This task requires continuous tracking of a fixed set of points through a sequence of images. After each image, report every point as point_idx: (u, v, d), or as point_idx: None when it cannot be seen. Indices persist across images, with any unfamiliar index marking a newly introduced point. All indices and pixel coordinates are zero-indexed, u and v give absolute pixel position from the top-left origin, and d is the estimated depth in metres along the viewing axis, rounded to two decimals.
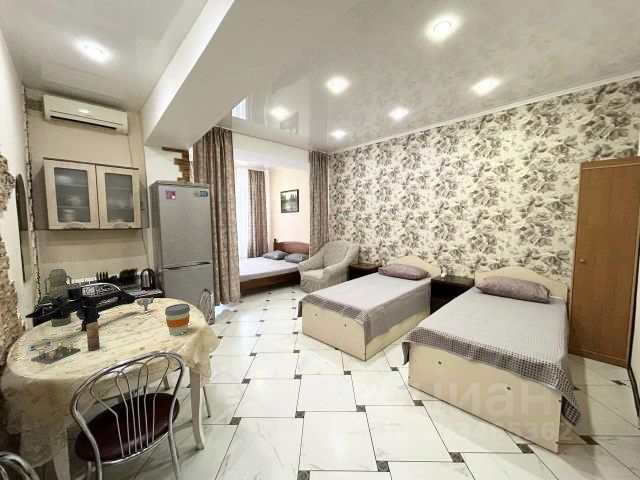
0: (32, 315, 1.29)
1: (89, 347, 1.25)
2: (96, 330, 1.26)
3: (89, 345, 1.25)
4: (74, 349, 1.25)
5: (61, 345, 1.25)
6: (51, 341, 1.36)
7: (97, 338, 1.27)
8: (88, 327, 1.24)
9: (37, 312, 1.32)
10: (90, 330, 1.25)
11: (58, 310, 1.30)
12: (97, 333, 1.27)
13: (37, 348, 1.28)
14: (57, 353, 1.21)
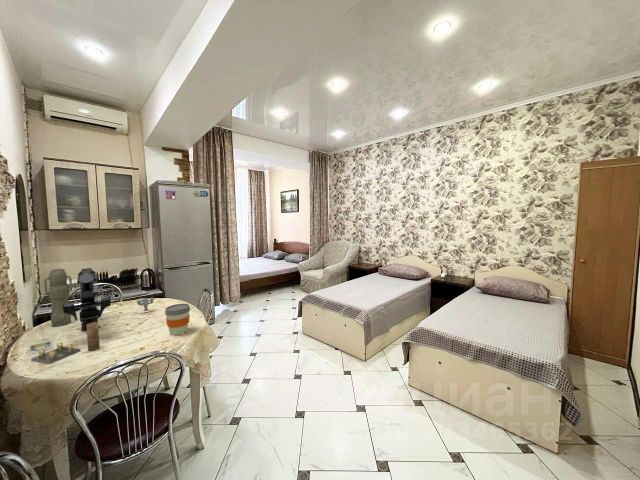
0: None
1: (89, 347, 1.25)
2: (96, 330, 1.26)
3: (89, 345, 1.25)
4: (74, 349, 1.25)
5: (61, 345, 1.25)
6: (51, 341, 1.36)
7: (97, 338, 1.27)
8: (88, 327, 1.24)
9: None
10: (90, 330, 1.25)
11: (106, 303, 1.38)
12: (97, 333, 1.27)
13: (37, 348, 1.28)
14: (57, 353, 1.21)
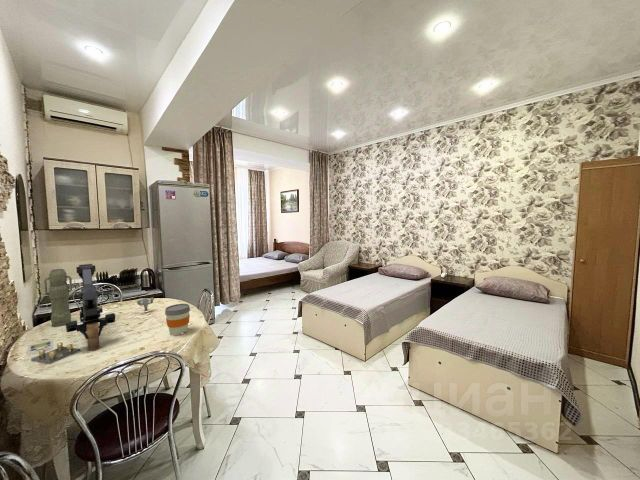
0: None
1: (89, 347, 1.25)
2: (96, 330, 1.26)
3: (89, 345, 1.25)
4: (74, 349, 1.25)
5: (61, 345, 1.25)
6: (51, 341, 1.36)
7: (97, 338, 1.27)
8: (88, 327, 1.24)
9: None
10: (90, 330, 1.25)
11: (105, 321, 1.31)
12: (97, 333, 1.27)
13: (37, 348, 1.28)
14: (57, 353, 1.21)
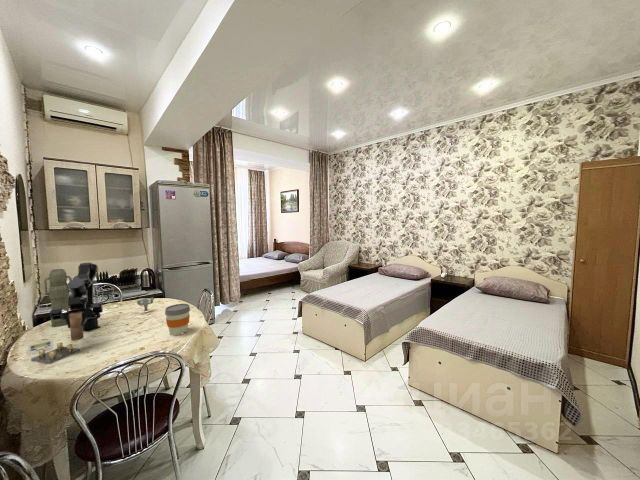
0: (69, 323, 1.22)
1: (71, 336, 1.21)
2: (79, 320, 1.22)
3: (71, 334, 1.21)
4: (74, 349, 1.25)
5: (61, 345, 1.25)
6: (51, 341, 1.36)
7: (79, 328, 1.23)
8: (70, 316, 1.21)
9: (68, 318, 1.23)
10: (72, 319, 1.21)
11: (90, 310, 1.27)
12: (80, 323, 1.23)
13: (37, 348, 1.28)
14: (57, 353, 1.21)
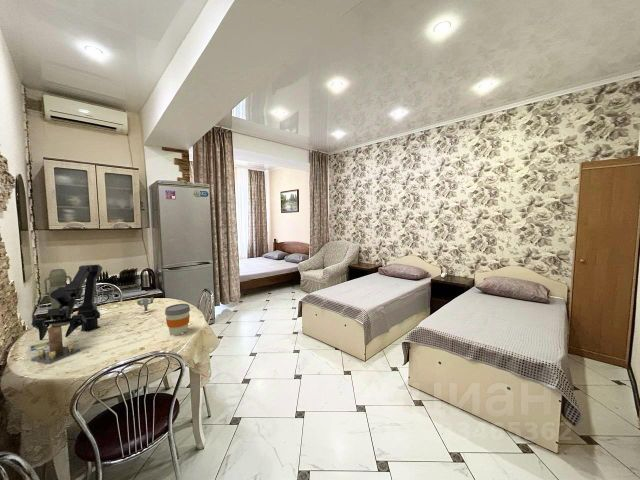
0: (43, 334, 1.20)
1: None
2: (56, 334, 1.19)
3: (50, 349, 1.19)
4: (74, 349, 1.25)
5: None
6: None
7: (57, 343, 1.20)
8: (48, 330, 1.18)
9: (43, 329, 1.20)
10: (50, 334, 1.18)
11: (75, 321, 1.24)
12: (58, 338, 1.20)
13: (37, 348, 1.28)
14: None
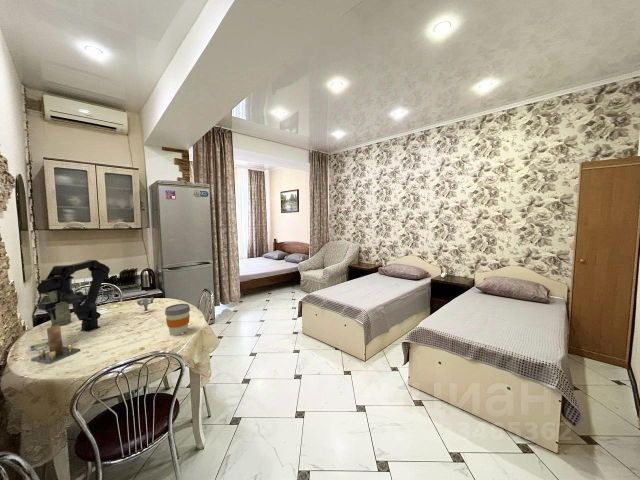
0: None
1: None
2: (55, 335, 1.19)
3: (49, 349, 1.19)
4: (74, 349, 1.25)
5: None
6: None
7: (57, 343, 1.20)
8: (47, 331, 1.18)
9: None
10: (49, 334, 1.18)
11: None
12: (57, 338, 1.20)
13: (37, 348, 1.28)
14: None
